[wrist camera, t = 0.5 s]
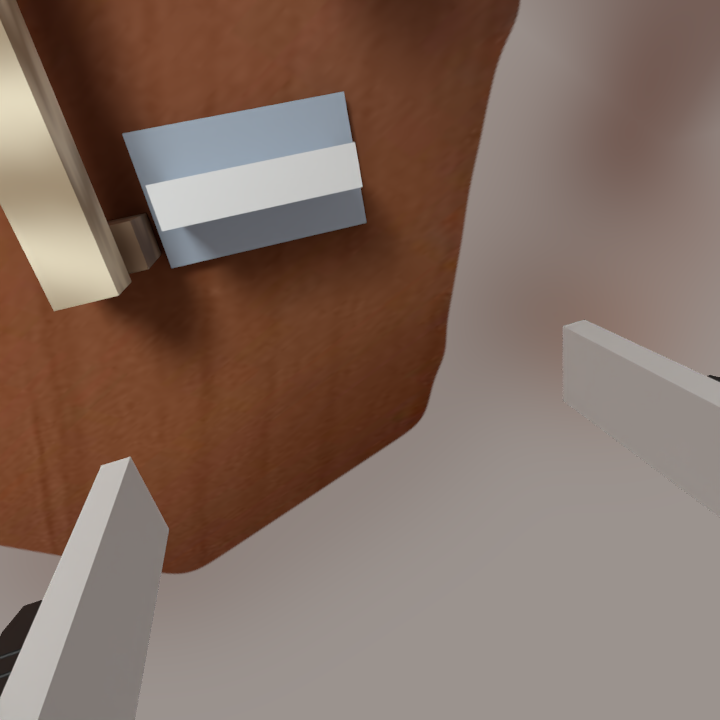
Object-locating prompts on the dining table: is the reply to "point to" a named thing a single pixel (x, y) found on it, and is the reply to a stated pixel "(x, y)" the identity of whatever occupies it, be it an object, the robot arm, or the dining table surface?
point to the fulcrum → (249, 178)
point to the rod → (49, 181)
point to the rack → (135, 242)
